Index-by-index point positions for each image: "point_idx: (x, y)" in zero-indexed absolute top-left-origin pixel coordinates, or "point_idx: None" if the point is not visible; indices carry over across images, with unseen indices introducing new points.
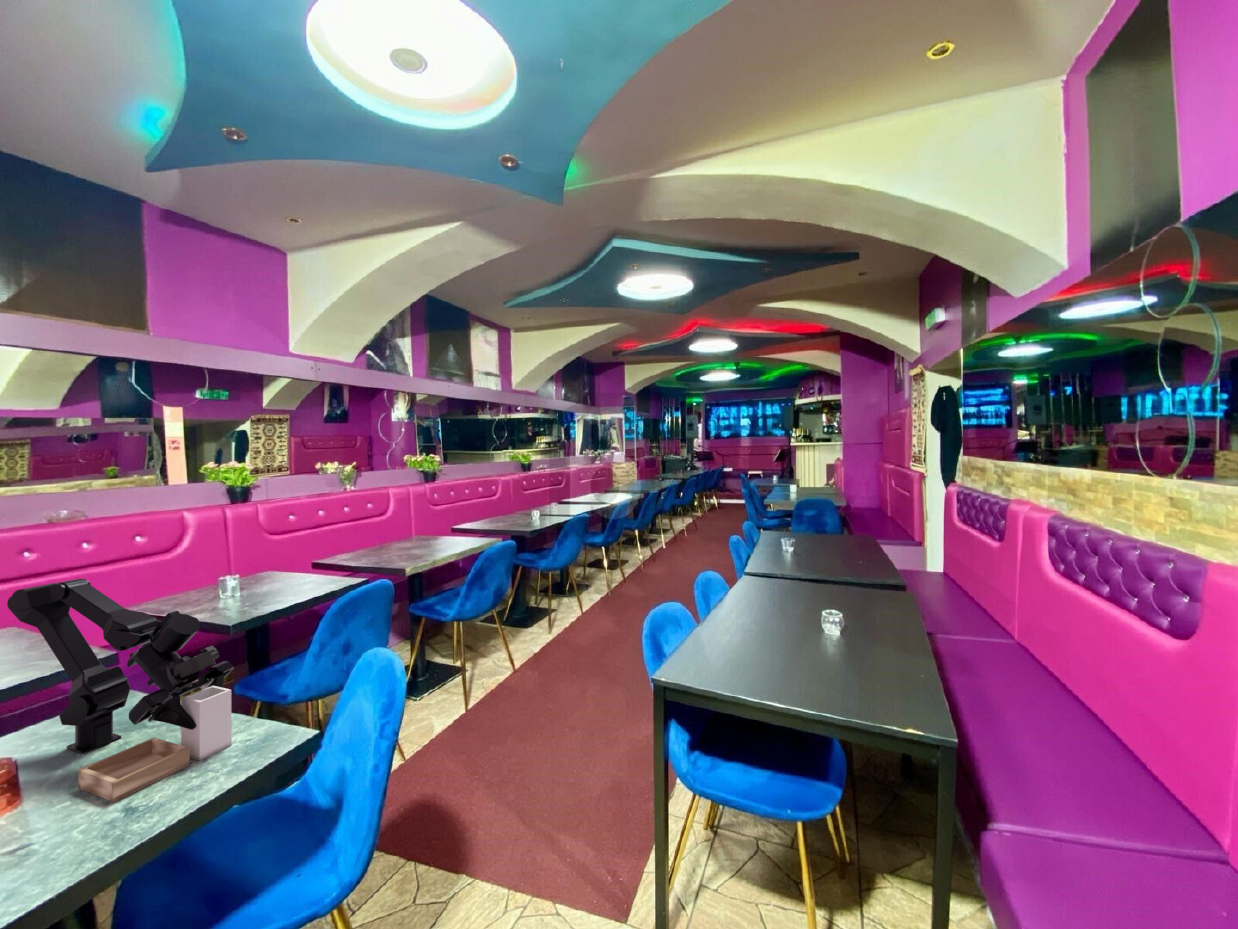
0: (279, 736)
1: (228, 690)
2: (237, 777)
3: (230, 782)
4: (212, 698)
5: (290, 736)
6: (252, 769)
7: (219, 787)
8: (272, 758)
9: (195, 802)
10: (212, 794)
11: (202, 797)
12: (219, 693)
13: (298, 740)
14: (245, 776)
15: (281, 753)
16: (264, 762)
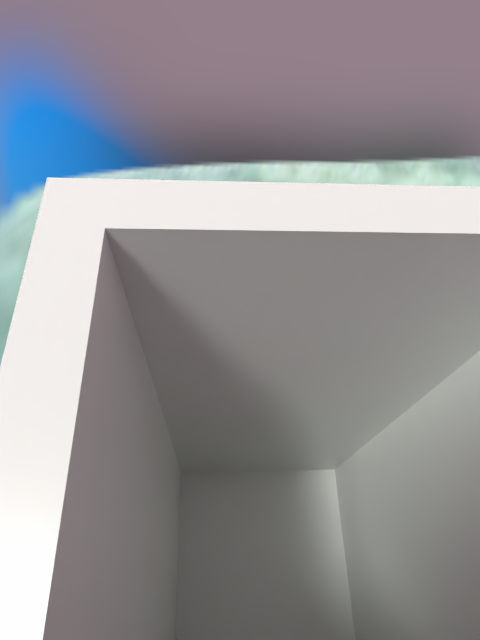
0: (14, 299)
1: (93, 191)
2: (323, 182)
3: (352, 177)
4: (416, 199)
5: (6, 250)
6: (266, 178)
7: (387, 184)
8: (183, 175)
9: (469, 178)
10: (418, 170)
11: (445, 183)
12: (266, 216)
13: (35, 192)
14: (305, 164)
15: (143, 174)
16: (215, 179)
